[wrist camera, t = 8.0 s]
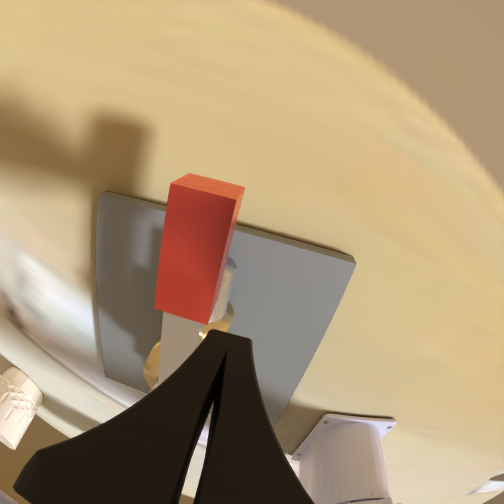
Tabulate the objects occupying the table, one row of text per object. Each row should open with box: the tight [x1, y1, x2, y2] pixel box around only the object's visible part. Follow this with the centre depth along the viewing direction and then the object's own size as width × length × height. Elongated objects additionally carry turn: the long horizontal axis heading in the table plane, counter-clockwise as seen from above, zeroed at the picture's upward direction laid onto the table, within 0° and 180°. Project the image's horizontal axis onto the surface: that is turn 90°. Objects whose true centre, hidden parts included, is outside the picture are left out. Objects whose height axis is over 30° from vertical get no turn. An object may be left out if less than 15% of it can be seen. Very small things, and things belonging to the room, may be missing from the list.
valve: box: [143, 256, 237, 402], centre depth 18 cm, size 14×5×5 cm, turn 166°
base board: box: [96, 191, 356, 427], centre depth 21 cm, size 17×16×1 cm
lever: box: [150, 173, 245, 392], centre depth 13 cm, size 13×3×2 cm, turn 166°
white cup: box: [0, 367, 43, 450], centre depth 26 cm, size 8×8×10 cm
